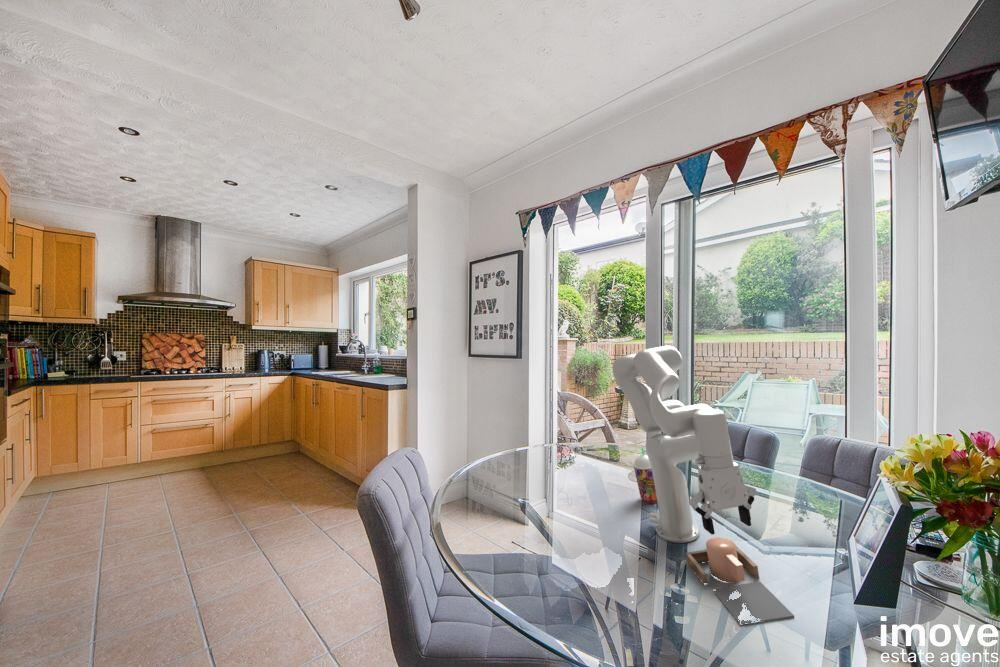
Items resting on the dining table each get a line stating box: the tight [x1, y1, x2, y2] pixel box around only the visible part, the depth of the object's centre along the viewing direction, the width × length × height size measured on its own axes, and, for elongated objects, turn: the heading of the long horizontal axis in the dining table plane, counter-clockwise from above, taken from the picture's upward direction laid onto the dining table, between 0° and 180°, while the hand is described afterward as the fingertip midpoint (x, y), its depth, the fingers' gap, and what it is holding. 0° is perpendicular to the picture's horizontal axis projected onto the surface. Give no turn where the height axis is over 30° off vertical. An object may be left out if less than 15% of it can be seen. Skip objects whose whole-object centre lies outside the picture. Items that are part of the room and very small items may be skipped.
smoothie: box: [632, 447, 657, 504], centre depth 155 cm, size 8×8×20 cm
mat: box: [713, 581, 795, 624], centre depth 97 cm, size 12×12×1 cm
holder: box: [685, 545, 760, 584], centre depth 110 cm, size 10×14×3 cm
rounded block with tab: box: [705, 537, 746, 583], centre depth 106 cm, size 12×7×8 cm, turn 0°
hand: (727, 527), depth 103 cm, fingers open, 9 cm apart
